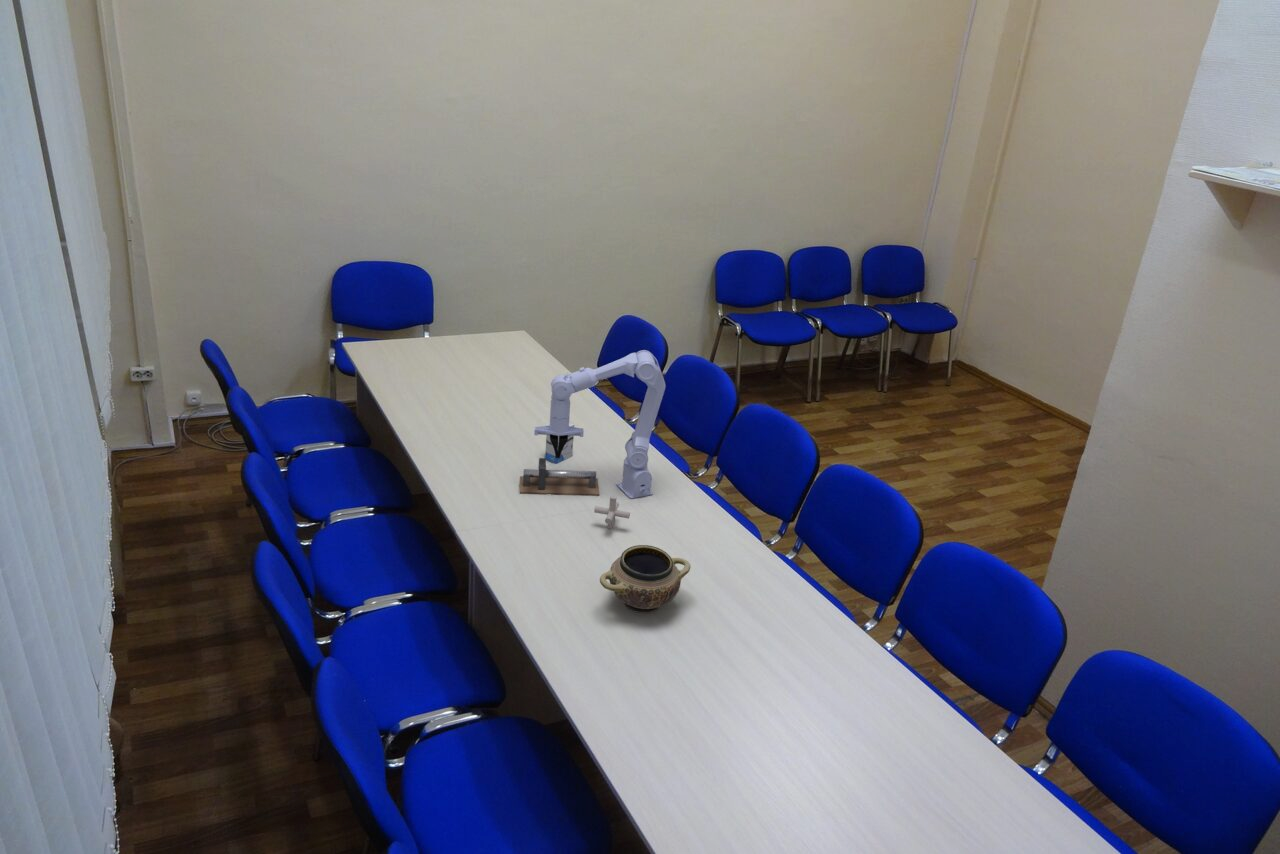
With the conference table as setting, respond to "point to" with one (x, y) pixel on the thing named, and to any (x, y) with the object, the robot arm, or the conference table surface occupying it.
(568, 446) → the ink box
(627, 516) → the pipe connector
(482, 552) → the conference table surface
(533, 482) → the walnut board
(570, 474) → the steel pipe
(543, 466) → the rubber collar
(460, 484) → the conference table surface
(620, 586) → the ceramic bowl
